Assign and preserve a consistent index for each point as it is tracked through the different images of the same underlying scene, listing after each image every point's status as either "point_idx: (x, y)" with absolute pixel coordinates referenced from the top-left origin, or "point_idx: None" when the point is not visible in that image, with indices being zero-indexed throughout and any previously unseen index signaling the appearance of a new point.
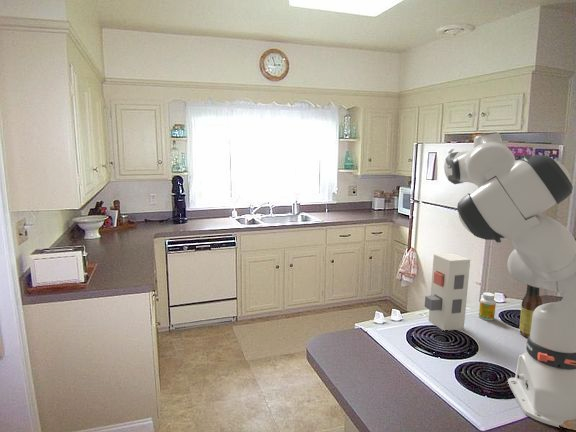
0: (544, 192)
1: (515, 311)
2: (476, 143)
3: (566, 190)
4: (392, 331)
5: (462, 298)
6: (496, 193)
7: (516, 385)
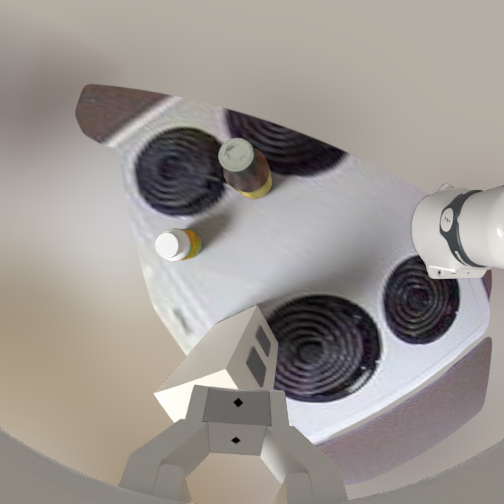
0: None
1: (143, 177)
2: None
3: None
4: (299, 418)
5: (253, 334)
6: None
7: (445, 271)
